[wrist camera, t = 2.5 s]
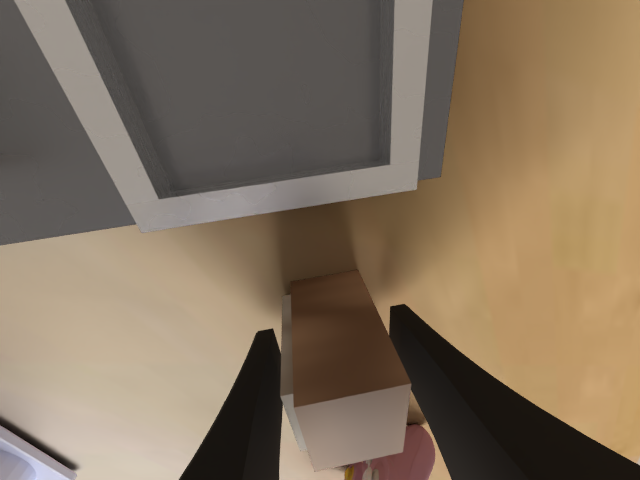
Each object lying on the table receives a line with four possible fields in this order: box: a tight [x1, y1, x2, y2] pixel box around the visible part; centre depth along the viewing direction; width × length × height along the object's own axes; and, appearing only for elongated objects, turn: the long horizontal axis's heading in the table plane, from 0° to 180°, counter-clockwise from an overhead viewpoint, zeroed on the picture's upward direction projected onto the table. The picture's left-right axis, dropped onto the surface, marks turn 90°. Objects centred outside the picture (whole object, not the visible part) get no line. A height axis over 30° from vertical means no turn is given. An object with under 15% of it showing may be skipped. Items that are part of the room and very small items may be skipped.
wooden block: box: [280, 270, 411, 472], centre depth 9 cm, size 3×4×5 cm
